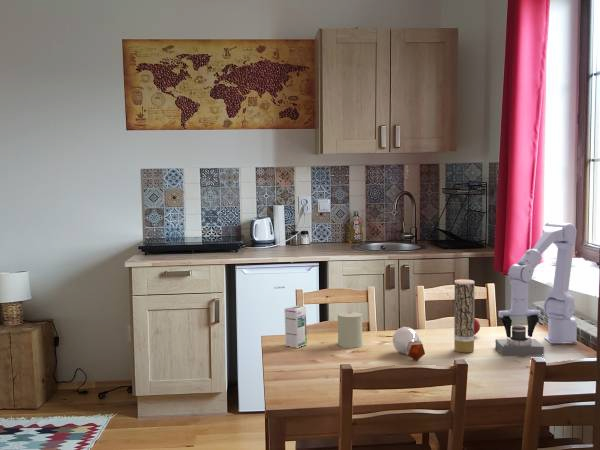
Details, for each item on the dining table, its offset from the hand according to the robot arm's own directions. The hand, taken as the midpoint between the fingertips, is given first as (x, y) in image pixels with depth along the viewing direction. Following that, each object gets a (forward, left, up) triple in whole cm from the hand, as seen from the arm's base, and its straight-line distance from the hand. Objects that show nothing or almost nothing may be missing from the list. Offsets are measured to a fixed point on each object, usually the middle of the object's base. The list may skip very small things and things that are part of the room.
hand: (519, 336), depth 244 cm
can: (+59, -10, -5) cm, 60 cm away
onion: (+12, -21, -5) cm, 25 cm away
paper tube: (+19, -1, -5) cm, 20 cm away
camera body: (0, 0, -5) cm, 5 cm away
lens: (0, 0, -2) cm, 2 cm away
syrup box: (+79, -9, -5) cm, 80 cm away
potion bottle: (+39, +4, -6) cm, 39 cm away
